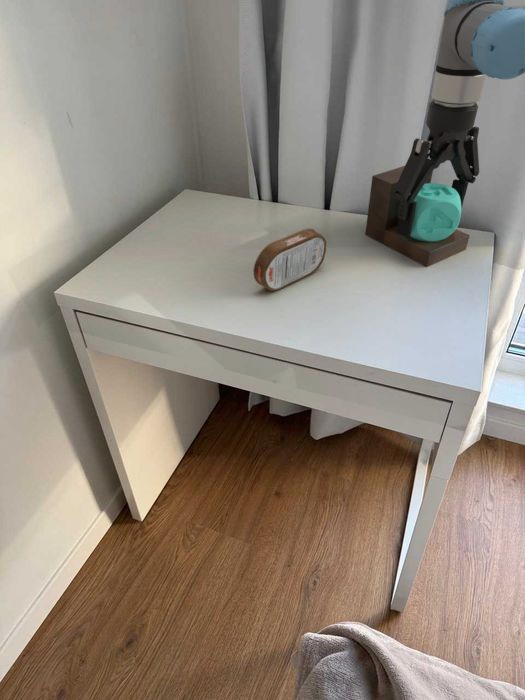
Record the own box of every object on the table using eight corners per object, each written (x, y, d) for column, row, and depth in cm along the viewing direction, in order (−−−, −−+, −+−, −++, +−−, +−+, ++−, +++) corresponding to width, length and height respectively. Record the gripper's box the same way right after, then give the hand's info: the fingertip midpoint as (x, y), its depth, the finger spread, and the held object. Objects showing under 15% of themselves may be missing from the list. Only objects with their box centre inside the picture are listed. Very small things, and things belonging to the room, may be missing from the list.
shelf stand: (465, 249, 95) (482, 188, 87) (426, 267, 90) (440, 204, 82) (403, 220, 105) (413, 162, 97) (365, 234, 100) (372, 175, 93)
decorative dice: (455, 241, 91) (465, 199, 86) (412, 243, 91) (420, 201, 86) (440, 221, 97) (449, 181, 92) (400, 224, 97) (406, 183, 92)
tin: (315, 262, 92) (318, 220, 87) (327, 269, 90) (331, 226, 85) (252, 292, 85) (251, 248, 80) (264, 300, 83) (263, 255, 78)
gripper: (483, 85, 87) (455, 201, 101) (381, 109, 77) (365, 235, 90) (522, 93, 82) (487, 213, 96) (418, 120, 72) (396, 251, 85)
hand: (428, 224), depth 93 cm, fingers open, 13 cm apart
